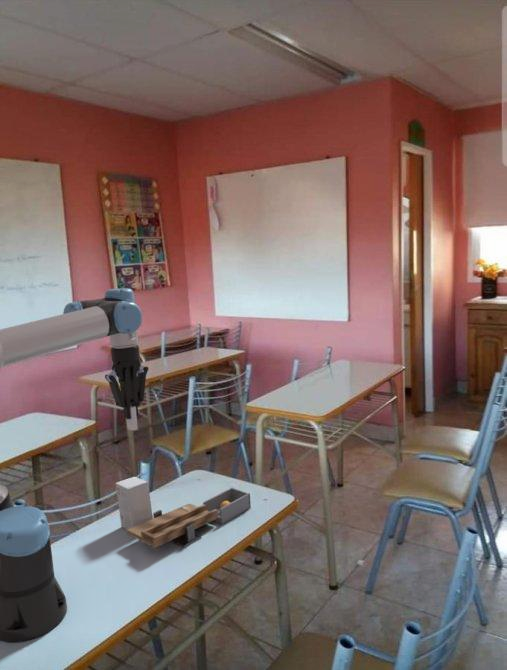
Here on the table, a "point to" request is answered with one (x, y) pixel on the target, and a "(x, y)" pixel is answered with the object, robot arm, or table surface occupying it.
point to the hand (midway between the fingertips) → (132, 429)
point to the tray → (237, 504)
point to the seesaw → (172, 524)
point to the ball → (224, 504)
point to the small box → (133, 502)
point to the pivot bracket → (185, 538)
